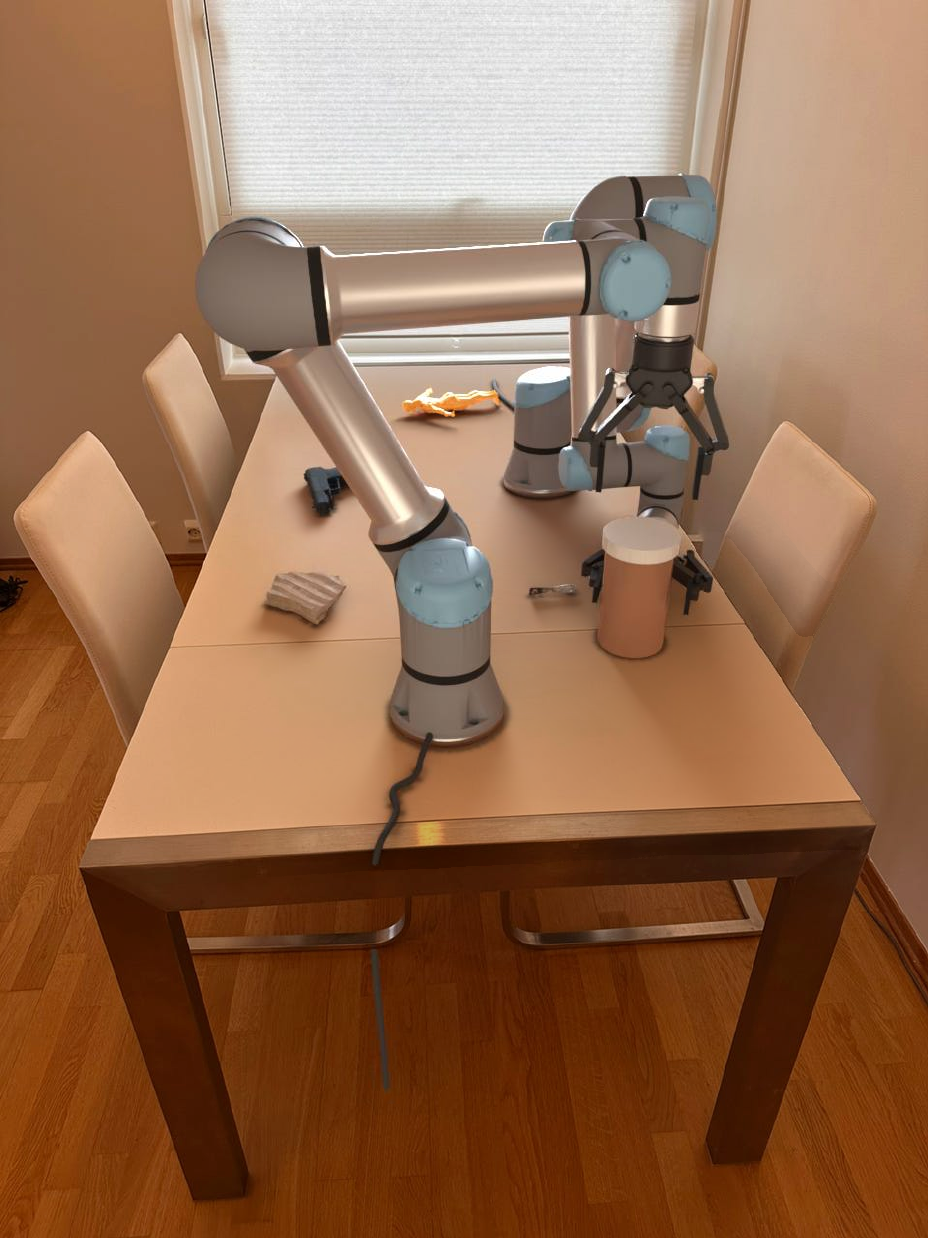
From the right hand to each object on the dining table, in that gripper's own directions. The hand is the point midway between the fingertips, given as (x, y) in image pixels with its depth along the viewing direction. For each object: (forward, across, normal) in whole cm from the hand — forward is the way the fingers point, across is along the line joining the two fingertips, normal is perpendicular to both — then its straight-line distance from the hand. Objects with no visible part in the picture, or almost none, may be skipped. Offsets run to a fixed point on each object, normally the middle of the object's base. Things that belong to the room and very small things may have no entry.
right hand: (640, 601), depth 133 cm
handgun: (-37, +65, -6) cm, 75 cm away
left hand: (+1, +1, +18) cm, 18 cm away
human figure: (-93, +57, -6) cm, 109 cm away
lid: (+1, +1, +11) cm, 11 cm away
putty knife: (-9, +15, -6) cm, 19 cm away
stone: (+4, +53, -6) cm, 54 cm away
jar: (+1, +1, -6) cm, 7 cm away
